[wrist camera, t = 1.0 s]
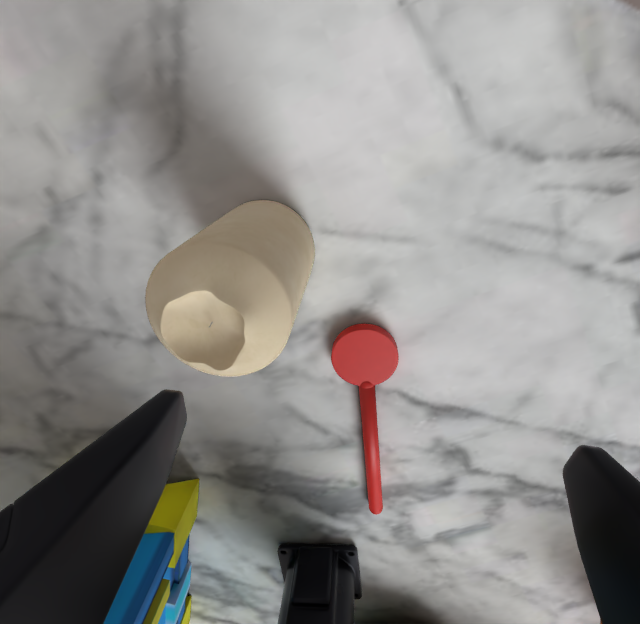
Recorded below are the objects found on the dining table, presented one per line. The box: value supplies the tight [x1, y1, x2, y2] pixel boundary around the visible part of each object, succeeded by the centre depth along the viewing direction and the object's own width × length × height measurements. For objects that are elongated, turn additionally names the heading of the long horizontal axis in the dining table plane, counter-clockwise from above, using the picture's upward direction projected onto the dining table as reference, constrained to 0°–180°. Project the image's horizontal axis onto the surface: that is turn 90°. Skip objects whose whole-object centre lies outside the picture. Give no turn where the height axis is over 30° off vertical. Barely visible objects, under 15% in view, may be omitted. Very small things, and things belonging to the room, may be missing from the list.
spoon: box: [331, 324, 398, 514], centre depth 27 cm, size 16×4×1 cm, turn 6°
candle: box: [145, 200, 315, 377], centre depth 18 cm, size 6×6×10 cm
